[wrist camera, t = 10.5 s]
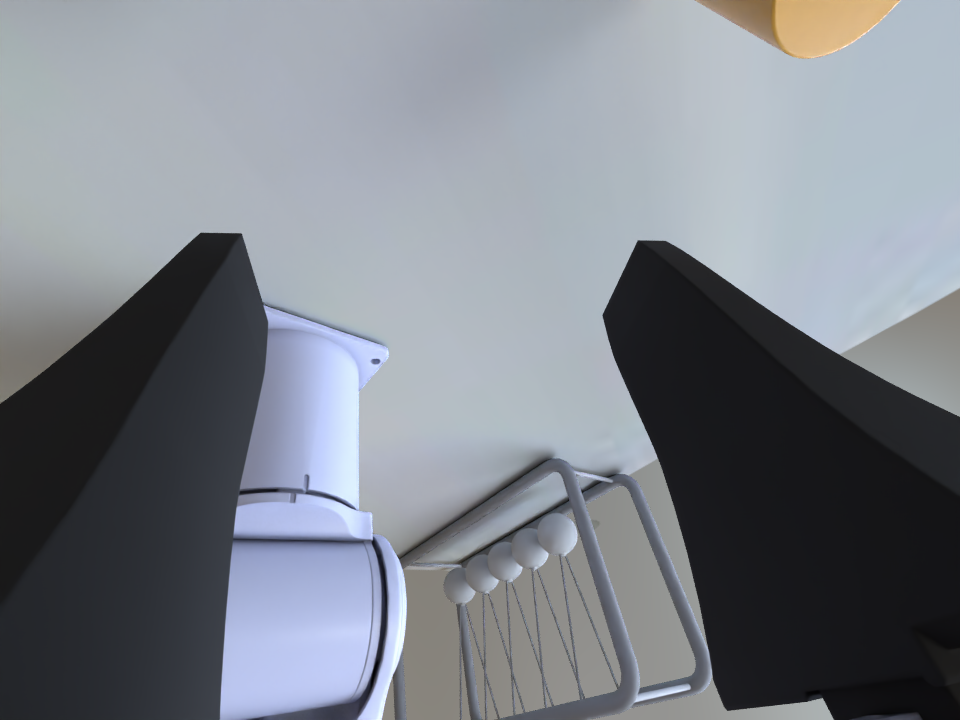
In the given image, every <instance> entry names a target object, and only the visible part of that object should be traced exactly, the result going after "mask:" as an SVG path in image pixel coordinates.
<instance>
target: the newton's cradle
mask: <svg viewBox="0 0 960 720" xmlns="http://www.w3.org/2000/svg"><path fill="white" fill-rule="evenodd" d="M553 472H559V473H560V474H561V476H562V478H563V481H564V484H565V487H566V491H567V494H568V497H569V500H570V501H568V502H566V503H564V504H563V505H561V506H559V507H557V508H556V509H554V510H552V511H550V512H549V513H547V514H545V515H544V516H542V517H540V518H538V519H537V520H535V521H533V522H531V523H530V524H528V525H526V526H524V527H523V528H521V529H519V530H517V531H516V532H514V533H512V534H511V535H509V536H507V537H505V538H504V539H502V540H500V541H498V542H497V543H495V544H493V545H491V546H490V547H488V548H486V549H484V550H483V551H481V552H479V553H478V554H476V555H474V556H472V557H471V558H469V559H467V560H465V561H464V562H462V563H461V564H436V563H413V562H414V561H416V560H417V559H419V558H420V557H422V556H423V555H425V554H427V553H428V552H430V551H431V550H433V549H434V548H436V547H437V546H439V545H441V544H442V543H444V542H445V541H447V540H448V539H450V538H451V537H453V536H455V535H456V534H458V533H459V532H461V531H462V530H464V529H466V528H467V527H469V526H470V525H472V524H473V523H475V522H476V521H478V520H480V519H481V518H483V517H484V516H486V515H487V514H489V513H490V512H492V511H494V510H495V509H497V508H498V507H500V506H501V505H503V504H504V503H506V502H508V501H509V500H511V499H512V498H514V497H515V496H517V495H519V494H520V493H522V492H523V491H525V490H526V489H528V488H529V487H531V486H533V485H534V484H536V483H537V482H539V481H540V480H542V479H543V478H545V477H547V476H548V475H550V474H551V473H553ZM576 475H577V476H582V477H586V478H591V479H596V480H600V481H603V482H601V483H599V484H597V485H596V486H594V487H592V488H590V489H589V490H587V491H585V492H583V493H582V492H581V489H580V486H579V483H578V480H577V477H576ZM619 486H625V487H626V488H627V489H628V490H629V492H630V494H631V497H632V499H633V502H634V504H635V507H636V509H637V512H638V514H639V517H640V519H641V522H642V524H643V527H644V530H645V532H646V534H647V537H648V540H649V542H650V544H651V547H652V550H653V552H654V555H655V557H656V560H657V562H658V565H659V567H660V570H661V572H662V575H663V577H664V580H665V582H666V585H667V588H668V590H669V592H670V595H671V597H672V600H673V603H674V605H675V608H676V610H677V613H678V615H679V618H680V620H681V623H682V626H683V628H684V631H685V633H686V636H687V638H688V641H689V643H690V645H691V648H692V651H693V653H694V656H695V660H696V668H695V672H694V673H693V675H692V676H689V677H686V678H682V679H678V680H673V681H669V682H664V683H660V684H656V685H652V686H647V687H643V688H640V686H639V685H640V674H639V670H638V665H637V661H636V658H635V655H634V652H633V649H632V646H631V643H630V639H629V636H628V633H627V630H626V627H625V624H624V621H623V618H622V615H621V612H620V609H619V606H618V603H617V599H616V596H615V593H614V590H613V587H612V584H611V581H610V578H609V575H608V572H607V569H606V566H605V563H604V560H603V556H602V553H601V550H600V547H599V544H598V541H597V538H596V535H595V532H594V529H593V526H592V523H591V520H590V517H589V513H588V510H587V508H586V504H587V503H589V502H591V501H593V500H595V499H597V498H598V497H600V496H602V495H604V494H606V493H607V492H609V491H611V490H613V489H615V488H616V487H619ZM571 512H573V513H574V517H575V520H576V523H577V527H578V530H579V533H580V537H581V540H582V543H583V546H584V549H585V553H586V556H587V559H588V563H589V566H590V569H591V573H592V576H593V579H594V583H595V586H596V589H597V592H598V596H599V599H600V602H601V606H602V609H603V612H604V615H605V619H606V622H607V625H608V629H609V632H610V635H611V638H612V642H613V645H614V648H615V651H616V655H617V658H618V661H619V664H620V669H621V683H620V687H618V684H617V682H616V679H615V677H614V674H613V671H612V669H611V666H610V664H609V662H608V659H607V657H606V654H605V651H604V649H603V646H602V644H601V641H600V639H599V636H598V634H597V631H596V629H595V626H594V624H593V621H592V619H591V616H590V614H589V611H588V609H587V606H586V603H585V601H584V598H583V596H582V593H581V591H580V589H579V586H578V583H577V581H576V578H575V576H574V573H573V571H572V568H571V566H570V563H569V561H568V558H567V556H566V554H567V553H569V552H570V551H571V550H572V549H573V548H574V546H575V544H576V542H577V530H576V527H575V525H574V523H573V522H572V520H570V518H568V517H567V516H566V515H568V514H569V513H571ZM549 553H550V554H552V555H556V556H560V563H561V569H562V577H563V584H564V591H565V598H566V605H567V612H568V618H569V625H570V632H571V639H572V646H573V653H574V660H575V667H576V672H575V669H574V666H573V664H572V661H571V658H570V655H569V653H568V650H567V647H566V644H565V642H564V639H563V636H562V633H561V631H560V628H559V625H558V622H557V620H556V617H555V614H554V612H553V608H552V606H551V603H550V600H549V598H548V595H547V592H546V589H545V586H544V584H543V581H542V578H541V575H540V573H539V570H538V567H540V566H542V565H543V564H544V563H545V561H546V560H547V558H548V554H549ZM561 557H565V558H566V560H567V563H568V565H569V568H570V570H571V573H572V575H573V578H574V580H575V583H576V586H577V588H578V591H579V593H580V595H581V598H582V601H583V603H584V606H585V608H586V611H587V613H588V616H589V618H590V621H591V623H592V626H593V628H594V631H595V633H596V636H597V639H598V641H599V644H600V646H601V649H602V651H603V654H604V656H605V659H606V661H607V664H608V666H609V669H610V671H611V674H612V677H613V679H614V682H615V684H616V687H617V689H618V690H616V691H615V692H612V693H607V694H603V695H599V696H594V697H590V698H586V699H585V697H584V694H583V691H582V689H581V686H580V681H579V674H578V667H577V660H576V654H575V647H574V640H573V633H572V626H571V619H570V613H569V606H568V599H567V592H566V585H565V578H564V572H563V565H562V558H561ZM399 561H400V564H401V567H402V569H403V568H405V567H406V566H423V567H450V568H455V569H453V570H451V571H450V572H449V573H448V574H447V576H446V577H445V580H444V592H445V595H446V597H447V598H448V599H449V600H450V601H451V602H453V603H456V605H457V614H458V621H459V629H460V720H462V702H461V701H462V698H461V697H462V690H461V646H462V654H463V661H464V671H465V678H466V687H467V695H468V703H469V711H470V716H471V720H482V718H481V715H480V710H479V702H478V695H477V687H476V680H475V673H474V665H473V659H472V650H471V643H470V635H469V628H468V620H467V614H468V617H469V621H470V624H471V628H472V631H473V634H474V638H475V641H476V645H477V648H478V651H479V655H480V659H481V662H482V665H483V669H484V675H485V676H484V677H485V720H487V693H486V679H487V683H488V686H489V689H490V693H491V696H492V700H493V703H494V707H495V710H496V714H497V717H498V719H497V720H590V719H594V718H600V717H605V716H609V715H615V714H619V713H622V712H624V711H626V710H628V709H630V708H633V707H638V706H643V705H648V704H653V703H657V702H662V701H667V700H672V699H676V698H682V697H687V696H691V695H696V694H698V693H700V692H702V691H704V690H705V689H706V687H707V686H708V685H709V683H710V680H711V677H712V668H711V662H710V656H709V650H708V648H707V646H706V643H705V641H704V639H703V636H702V634H701V631H700V629H699V626H698V624H697V622H696V619H695V617H694V614H693V612H692V610H691V607H690V605H689V602H688V600H687V598H686V595H685V593H684V590H683V588H682V586H681V583H680V581H679V578H678V576H677V573H676V571H675V569H674V566H673V564H672V562H671V559H670V556H669V554H668V552H667V549H666V547H665V544H664V542H663V540H662V537H661V535H660V532H659V530H658V528H657V525H656V523H655V520H654V518H653V515H652V513H651V511H650V508H649V506H648V504H647V501H646V499H645V496H644V494H643V492H642V489H641V487H640V486H639V484H638V482H637V481H636V480H634V479H633V478H632V477H630V476H628V475H625V474H617V475H614V476H611V477H609V478H606V477H601V476H597V475H592V474H588V473H584V472H579V471H575V470H573V468H572V467H571V466H570V465H569V464H568V463H567V462H566V461H564V460H562V459H550V460H548V461H545V462H544V463H542V464H541V465H539V466H538V467H536V468H535V469H533V470H532V471H530V472H529V473H527V474H526V475H524V476H523V477H521V478H520V479H518V480H517V481H515V482H514V483H512V484H511V485H509V486H508V487H506V488H505V489H503V490H502V491H500V492H499V493H498V494H496V495H495V496H493V497H492V498H490V499H489V500H487V501H486V502H484V503H483V504H481V505H480V506H478V507H477V508H475V509H474V510H472V511H471V512H469V513H468V514H466V515H465V516H463V517H462V518H460V519H459V520H457V521H456V522H454V523H453V524H451V525H450V526H448V527H447V528H445V529H444V530H442V531H441V532H439V533H438V534H436V535H435V536H433V537H432V538H430V539H429V540H427V541H426V542H424V543H423V544H421V545H420V546H418V547H417V548H415V549H414V550H412V551H411V552H409V553H408V554H406V555H405V556H403V557H402V558H400V559H399ZM522 568H526V569H532V581H533V591H534V601H535V611H536V621H537V631H538V642H539V652H540V662H541V666H540V663H539V660H538V657H537V654H536V651H535V648H534V645H533V642H532V639H531V636H530V633H529V629H528V627H527V623H526V620H525V617H524V614H523V611H522V608H521V606H520V602H519V599H518V596H517V593H516V590H515V587H514V584H513V582H512V580H514V579H515V578H517V577H518V576H519V574H520V573H521V571H522ZM536 570H537V572H538V575H539V577H540V580H541V583H542V586H543V588H544V591H545V594H546V597H547V599H548V602H549V605H550V608H551V611H552V613H553V616H554V618H555V622H556V624H557V627H558V630H559V633H560V636H561V638H562V641H563V644H564V647H565V649H566V652H567V655H568V658H569V661H570V663H571V666H572V669H573V671H574V674H575V677H576V680H577V683H578V688H579V695H580V700H577V701H573V702H569V703H565V704H560V705H557V706H554V705H553V702H552V699H551V696H550V693H549V690H548V687H547V684H546V681H545V678H544V674H543V664H542V655H541V644H540V634H539V624H538V615H537V604H536V595H535V584H534V574H533V571H536ZM499 580H500V581H506V592H507V609H508V627H509V645H510V660H509V656H508V653H507V650H506V646H505V643H504V640H503V637H502V633H501V630H500V627H499V623H498V620H497V617H496V613H495V610H494V607H493V603H492V600H491V597H490V594H489V591H491V590H493V589H494V588H495V586H496V585H497V584H498V582H499ZM508 583H512V586H513V589H514V592H515V595H516V598H517V601H518V604H519V607H520V610H521V613H522V616H523V619H524V622H525V625H526V628H527V631H528V635H529V638H530V641H531V643H532V647H533V650H534V653H535V656H536V659H537V662H538V665H539V668H540V671H541V674H542V683H543V693H544V703H545V708H543V709H539V710H535V711H530V712H526V713H525V710H524V706H523V703H522V700H521V696H520V693H519V690H518V686H517V683H516V680H515V676H514V673H513V666H512V650H511V633H510V616H509V600H508ZM476 591H477V592H480V593H483V631H484V663H483V660H482V657H481V653H480V650H479V646H478V643H477V640H476V636H475V633H474V629H473V626H472V622H471V619H470V616H469V612H468V609H467V605H466V603H467V602H468V601H470V600H471V599H472V598H473V596H474V594H475V592H476ZM486 594H488V595H489V599H490V602H491V605H492V609H493V612H494V615H495V618H496V622H497V625H498V629H499V632H500V635H501V638H502V642H503V645H504V649H505V652H506V655H507V659H508V662H509V665H510V669H511V679H512V697H513V712H514V715H513V716H509V717H505V718H501V719H500V718H499V715H498V711H497V708H496V704H495V701H494V698H493V694H492V691H491V687H490V684H489V681H488V677H487V674H486V652H485V609H484V595H486ZM466 610H467V613H466ZM510 662H511V663H510ZM576 674H577V675H576ZM513 679H514V682H515V685H516V689H517V692H518V695H519V699H520V702H521V705H522V709H523V712H524V713H522V714H518V715H515V701H514V684H513ZM544 683H545V684H544ZM393 684H394V708H395V720H406V705H405V684H404V665H403V648H402V651H401V655H400V659H399V662H398V665H397V667H396V670H395V672H394V674H393ZM545 686H546V689H547V692H548V695H549V699H550V702H551V705H552V707H548V708H547V704H546V694H545ZM582 697H583V699H582Z"/></svg>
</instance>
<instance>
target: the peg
mask: <svg viewBox="0 0 960 720" xmlns="http://www.w3.org/2000/svg"><path fill="white" fill-rule="evenodd" d="M695 1H697V2H699V3H700V4H702V5H704V6H705V7H707V8H709V9H711V10H712V11H714V12H716V13H717V14H719V15H721V16H723V17H724V18H726V19H728V20H729V21H731V22H733V23H735V24H736V25H738V26H740V27H742V28H743V29H745V30H747V31H748V32H750V33H752V34H754V35H755V36H757V37H759V38H760V39H762V40H764V41H766V42H767V43H769V44H771V45H772V46H774V47H776V48H778V49H779V50H781V51H783V52H784V53H786V54H788V55H790V56H792V57H797V58H807V59H809V58H816V57H821V56H825V55H828V54H831V53H833V52H836V51H838V50H840V49H842V48H844V47H846V46H848V45H850V44H851V43H853V42H854V41H856V40H857V39H859V38H860V37H862V36H863V35H864V34H866V33H867V32H868V31H870V30H871V29H872V28H873V27H874V26H875V25H877V24H878V23H879V22H880V21H881V20H882V19H883V18H884V17H885V16H886V15H887V14H888V13H889V12H890V11H891V10H892V9H893V8H894V7H895V6H896V5H897V4H898V3H899V1H900V0H695Z"/></svg>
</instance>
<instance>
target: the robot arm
mask: <svg viewBox="0 0 960 720" xmlns="http://www.w3.org/2000/svg"><path fill="white" fill-rule="evenodd" d="M603 319H604V323H605V327H606V331H607V335H608V339H609V342H610V346H611V349H612V352H613V356H614V358H615V361H616V363H617V366H618V368H619V370H620V373H621V375H622V377H623V380H624V382H625V384H626V387H627V389H628V391H629V393H630V395H631V398H632V400H633V402H634V404H635V407H636V409H637V411H638V413H639V416H640V418H641V420H642V422H643V424H644V427H645V429H646V431H647V433H648V436H649V438H650V440H651V442H652V445H653V447H654V449H655V452H656V454H657V457H658V459H659V462H660V465H661V467H662V470H663V473H664V476H665V480H666V483H667V486H668V489H669V492H670V495H671V498H672V501H673V505H674V507H675V511H676V515H677V518H678V522H679V525H680V529H681V532H682V536H683V539H684V543H685V546H686V550H687V553H688V558H689V562H690V566H691V570H692V574H693V579H694V583H695V587H696V591H697V595H698V599H699V604H700V608H701V614H702V619H703V624H704V629H705V635H706V640H707V644H708V650H709V656H710V662H711V668H712V674H713V680H714V683H715V686H716V688H717V690H718V693H719V695H720V698H721V700H722V703H723V705H724V707H725V708H726V710H727V711H730V710H739V709H747V708H756V707H765V706H774V705H782V704H791V703H800V702H808V701H812V700H816V699H820V698H823V699H824V701H825V703H826V705H827V707H828V709H829V711H830V713H831V715H832V717H833V719H834V720H960V417H959V416H957V415H954V414H952V413H950V412H948V411H946V410H944V409H942V408H940V407H938V406H935V405H934V404H931V403H929V402H927V401H925V400H923V399H921V398H919V397H917V396H915V395H913V394H911V393H909V392H907V391H905V390H903V389H901V388H899V387H897V386H895V385H893V384H891V383H889V382H887V381H885V380H883V379H882V378H880V377H878V376H876V375H875V374H873V373H871V372H869V371H867V370H865V369H864V368H862V367H860V366H858V365H856V364H854V363H853V362H851V361H849V360H847V359H845V358H844V357H842V356H840V355H839V354H837V353H835V352H834V351H832V350H830V349H829V348H827V347H825V346H824V345H822V344H820V343H819V342H817V341H816V340H814V339H813V338H811V337H809V336H808V335H806V334H805V333H803V332H802V331H800V330H798V329H797V328H795V327H794V326H792V325H791V324H789V323H788V322H786V321H785V320H783V319H782V318H780V317H779V316H777V315H776V314H774V313H773V312H771V311H770V310H768V309H767V308H765V307H764V306H762V305H761V304H759V303H758V302H756V301H755V300H754V299H752V298H751V297H749V296H748V295H746V294H745V293H744V292H742V291H741V290H739V289H738V288H736V287H735V286H734V285H732V284H731V283H729V282H728V281H726V280H725V279H724V278H722V277H721V276H719V275H718V274H716V273H715V272H714V271H712V270H711V269H709V268H708V267H706V266H705V265H704V264H702V263H701V262H699V261H698V260H696V259H695V258H693V257H692V256H690V255H689V254H687V253H685V252H684V251H682V250H681V249H679V248H677V247H676V246H674V245H672V244H670V243H668V242H667V241H640V240H638V241H637V244H636V246H635V248H634V250H633V252H632V254H631V256H630V258H629V260H628V262H627V265H626V267H625V269H624V271H623V273H622V275H621V277H620V279H619V281H618V284H617V286H616V288H615V290H614V292H613V294H612V296H611V298H610V300H609V303H608V305H607V307H606V309H605V311H604V313H603ZM388 356H389V352H388V349H387V347H385V346H382V345H379V344H376V343H373V342H370V341H368V340H365V339H362V338H359V337H356V336H353V335H350V334H347V333H344V332H341V331H338V330H335V329H332V328H329V327H326V326H323V325H320V324H317V323H315V322H312V321H309V320H306V319H303V318H300V317H297V316H294V315H291V314H288V313H285V312H282V311H279V310H276V309H273V308H270V307H267V306H265V305H263V302H262V299H261V296H260V293H259V289H258V286H257V283H256V279H255V276H254V273H253V269H252V266H251V263H250V259H249V256H248V253H247V250H246V246H245V243H244V240H243V236H242V234H239V233H200V234H199V235H198V236H197V237H195V238H194V239H193V240H192V241H191V242H190V243H189V244H188V245H186V246H185V247H184V248H183V249H182V250H181V251H180V252H179V253H178V254H177V255H176V256H175V257H174V258H173V259H172V260H171V261H170V262H169V263H168V264H166V265H165V266H164V267H163V268H162V269H161V270H160V271H159V272H158V273H157V274H156V275H155V276H154V277H153V278H152V279H151V280H150V281H149V282H147V283H146V284H145V285H144V286H143V287H142V288H141V289H140V290H139V291H138V292H136V293H135V294H134V295H133V296H132V297H131V298H130V299H129V300H128V301H127V302H126V303H124V304H123V305H122V306H121V307H120V308H119V309H118V310H117V311H116V312H115V313H114V314H112V315H111V316H110V317H109V318H108V319H107V320H105V321H104V322H103V323H102V324H101V325H99V326H98V327H97V328H96V329H95V330H93V331H92V332H91V333H90V334H89V335H87V336H86V337H85V338H84V339H83V340H81V341H80V342H79V343H78V344H76V345H75V346H74V347H73V348H72V349H70V350H69V351H68V352H67V353H66V354H64V355H63V356H62V357H61V358H60V359H58V360H57V361H56V362H55V363H53V364H52V365H51V366H50V367H49V368H47V369H46V370H45V371H44V372H42V373H41V374H40V375H38V376H37V377H36V378H34V379H33V380H32V381H30V382H29V383H28V384H26V385H25V386H24V387H22V388H21V389H20V390H18V391H17V392H16V393H14V394H13V395H12V396H10V397H9V398H8V399H6V400H5V401H3V402H2V403H0V720H382V714H383V709H384V705H385V699H386V696H387V692H388V688H389V685H390V681H391V678H392V675H393V674H394V672H395V670H396V667H397V665H398V662H399V659H400V655H401V651H402V647H403V642H404V635H405V627H406V605H407V604H406V588H405V580H404V575H403V570H402V567H401V564H400V561H399V559H398V557H397V555H396V554H395V552H394V550H393V548H392V546H391V544H390V543H389V542H388V540H387V539H386V538H385V537H383V536H382V535H377V534H373V531H372V513H371V512H363V511H359V391H360V390H361V389H362V388H363V386H364V385H365V384H366V383H367V382H368V381H369V379H370V378H371V377H372V376H373V375H374V374H375V372H376V371H377V370H378V369H379V368H380V367H381V365H382V364H383V363H384V362H385V361H386V360H387V358H388ZM374 358H376V359H374Z"/></svg>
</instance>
